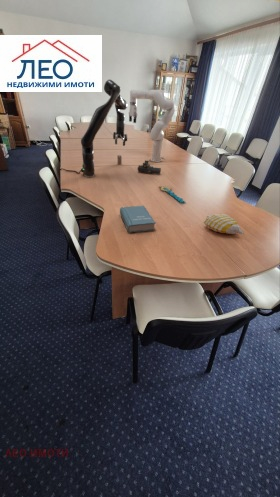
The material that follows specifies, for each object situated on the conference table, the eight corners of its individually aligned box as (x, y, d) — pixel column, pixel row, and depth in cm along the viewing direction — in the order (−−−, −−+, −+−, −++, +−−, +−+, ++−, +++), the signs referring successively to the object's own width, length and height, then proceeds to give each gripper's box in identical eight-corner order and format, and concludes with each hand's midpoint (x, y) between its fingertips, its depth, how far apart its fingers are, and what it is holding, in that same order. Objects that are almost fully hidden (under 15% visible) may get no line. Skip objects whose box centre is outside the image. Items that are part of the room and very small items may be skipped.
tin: (122, 164, 233) (122, 156, 227) (118, 165, 231) (118, 156, 226) (120, 163, 236) (120, 154, 230) (116, 164, 234) (116, 155, 229)
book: (154, 230, 131) (155, 222, 128) (128, 232, 126) (128, 225, 124) (143, 212, 148) (143, 205, 145) (119, 214, 144) (120, 207, 141)
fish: (254, 225, 128) (232, 232, 118) (249, 236, 132) (228, 244, 123) (221, 208, 144) (199, 213, 134) (217, 218, 149) (196, 224, 139)
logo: (158, 186, 187) (158, 185, 187) (168, 186, 190) (168, 185, 189) (173, 203, 162) (174, 202, 161) (185, 203, 164) (186, 201, 164)
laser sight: (159, 175, 211) (160, 165, 205) (136, 173, 213) (137, 162, 208) (160, 172, 218) (161, 162, 212) (138, 170, 221) (139, 159, 215)
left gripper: (129, 126, 204) (128, 145, 213) (116, 124, 209) (115, 143, 218) (124, 127, 198) (124, 147, 208) (111, 125, 203) (111, 144, 213)
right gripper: (140, 104, 233) (139, 123, 244) (132, 103, 245) (131, 121, 255) (134, 104, 230) (133, 123, 240) (126, 103, 242) (126, 121, 252)
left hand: (120, 145), depth 213 cm, fingers open, 8 cm apart
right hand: (132, 122), depth 248 cm, fingers open, 9 cm apart
